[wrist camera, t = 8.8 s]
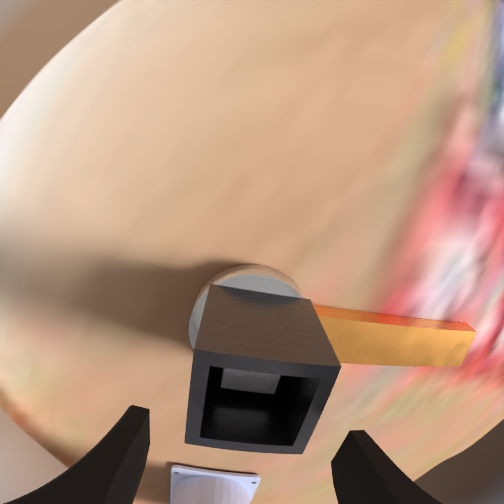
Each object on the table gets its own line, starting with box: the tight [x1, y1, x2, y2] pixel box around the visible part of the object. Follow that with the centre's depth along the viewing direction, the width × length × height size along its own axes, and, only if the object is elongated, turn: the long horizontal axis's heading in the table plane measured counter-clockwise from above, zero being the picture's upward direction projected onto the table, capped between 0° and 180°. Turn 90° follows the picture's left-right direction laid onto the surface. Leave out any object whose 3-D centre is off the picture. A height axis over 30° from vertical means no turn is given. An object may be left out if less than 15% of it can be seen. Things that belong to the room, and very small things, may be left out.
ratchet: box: [189, 264, 476, 394], centre depth 17 cm, size 20×7×5 cm, turn 79°
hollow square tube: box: [185, 284, 341, 454], centre depth 14 cm, size 5×5×6 cm
